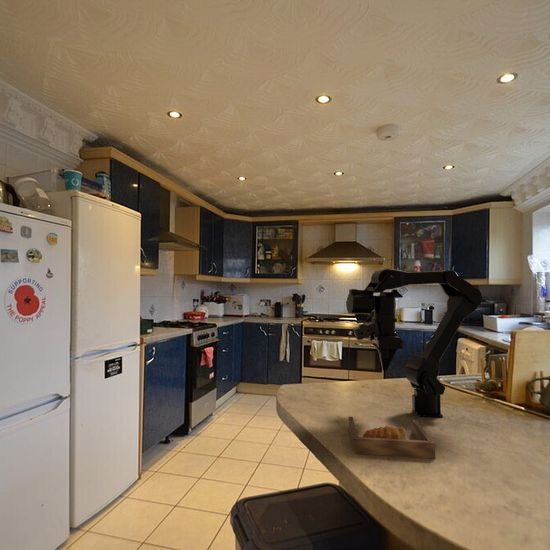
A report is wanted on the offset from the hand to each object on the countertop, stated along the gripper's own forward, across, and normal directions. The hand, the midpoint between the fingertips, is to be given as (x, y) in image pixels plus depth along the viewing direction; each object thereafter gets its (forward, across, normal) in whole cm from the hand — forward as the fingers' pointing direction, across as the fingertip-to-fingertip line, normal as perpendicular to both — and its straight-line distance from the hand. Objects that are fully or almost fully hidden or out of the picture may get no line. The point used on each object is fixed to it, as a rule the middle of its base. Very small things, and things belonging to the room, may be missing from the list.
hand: (384, 370), depth 99 cm
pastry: (+12, +20, -3) cm, 24 cm away
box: (+12, +19, -3) cm, 23 cm away
